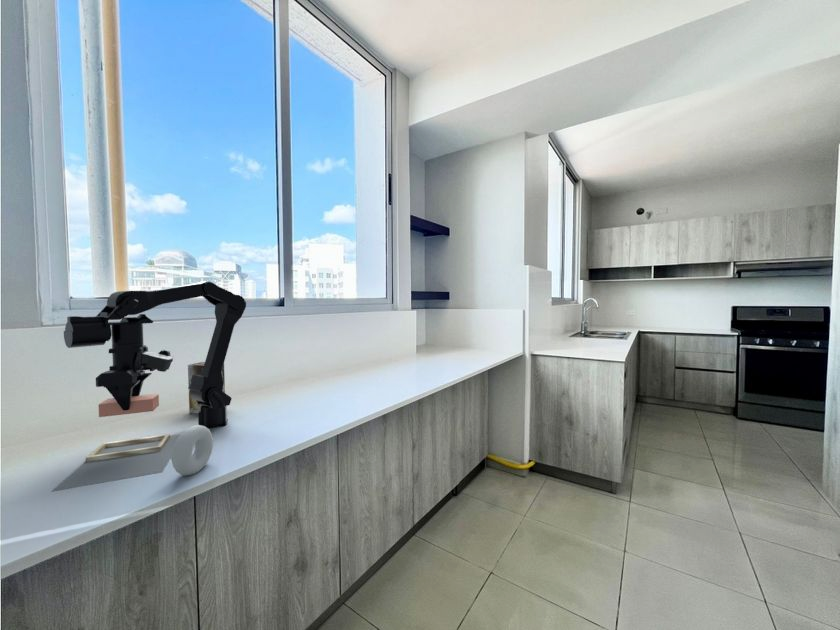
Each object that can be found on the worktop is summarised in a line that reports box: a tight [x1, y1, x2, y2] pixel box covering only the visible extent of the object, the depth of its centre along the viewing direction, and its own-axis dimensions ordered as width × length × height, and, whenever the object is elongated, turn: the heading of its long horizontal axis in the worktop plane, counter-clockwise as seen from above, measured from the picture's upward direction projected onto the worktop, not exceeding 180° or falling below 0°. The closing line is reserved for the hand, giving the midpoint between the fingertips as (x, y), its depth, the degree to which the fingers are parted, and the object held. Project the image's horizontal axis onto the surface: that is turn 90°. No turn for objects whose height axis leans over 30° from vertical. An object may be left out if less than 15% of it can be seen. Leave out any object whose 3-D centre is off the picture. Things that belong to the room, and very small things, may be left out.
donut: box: [171, 424, 214, 476], centre depth 71 cm, size 10×4×10 cm, turn 178°
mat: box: [51, 433, 182, 492], centre depth 77 cm, size 17×23×1 cm
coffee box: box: [187, 361, 226, 414], centre depth 112 cm, size 9×6×16 cm
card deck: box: [97, 393, 160, 418], centre depth 81 cm, size 5×10×3 cm, turn 115°
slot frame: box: [85, 433, 171, 462], centre depth 81 cm, size 14×9×1 cm, turn 115°
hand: (130, 406), depth 81 cm, fingers closed on card deck, 5 cm apart
